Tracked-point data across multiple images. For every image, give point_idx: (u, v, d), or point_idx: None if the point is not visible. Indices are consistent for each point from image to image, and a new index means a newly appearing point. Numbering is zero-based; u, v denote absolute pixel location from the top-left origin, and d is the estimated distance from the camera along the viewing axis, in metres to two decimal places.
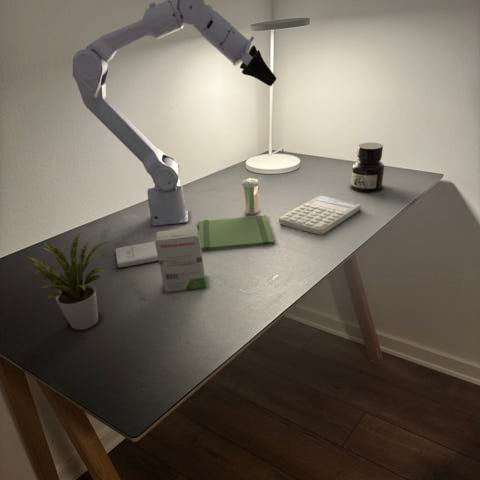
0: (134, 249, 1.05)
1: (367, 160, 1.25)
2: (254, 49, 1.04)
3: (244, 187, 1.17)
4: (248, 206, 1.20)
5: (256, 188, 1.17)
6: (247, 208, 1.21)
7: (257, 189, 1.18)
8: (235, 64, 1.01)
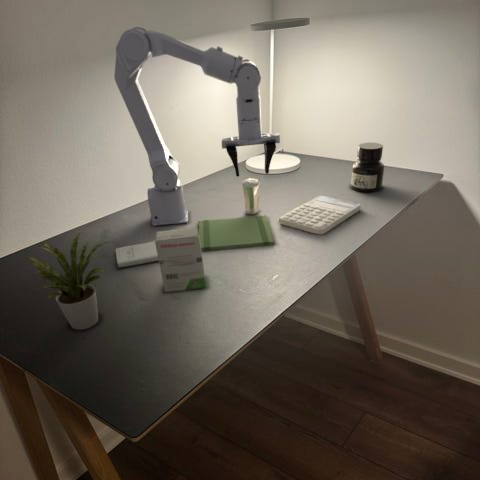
0: (134, 249, 1.05)
1: (367, 160, 1.25)
2: (266, 148, 1.11)
3: (244, 187, 1.17)
4: (248, 206, 1.20)
5: (256, 188, 1.17)
6: (247, 208, 1.21)
7: (257, 189, 1.18)
8: None
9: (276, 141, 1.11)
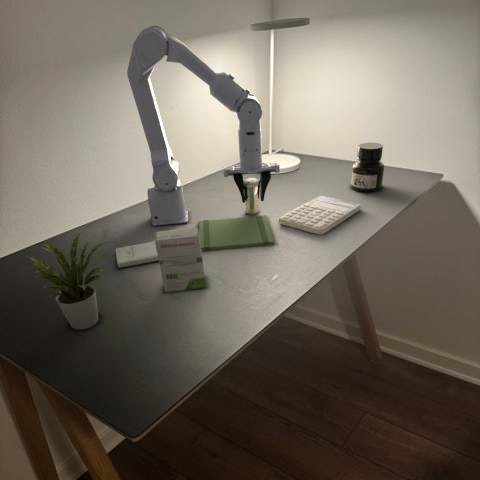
0: (134, 249, 1.05)
1: (367, 160, 1.25)
2: (261, 178, 1.15)
3: (245, 187, 1.17)
4: (248, 206, 1.20)
5: (257, 188, 1.17)
6: (247, 208, 1.21)
7: (258, 189, 1.18)
8: None
9: (276, 170, 1.16)
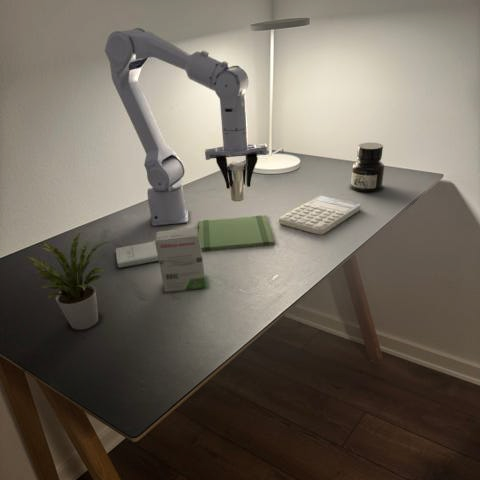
0: (134, 249, 1.05)
1: (367, 160, 1.25)
2: (247, 161, 1.04)
3: (229, 171, 1.07)
4: (233, 192, 1.10)
5: (242, 172, 1.07)
6: (232, 194, 1.10)
7: (243, 173, 1.07)
8: None
9: (263, 153, 1.05)
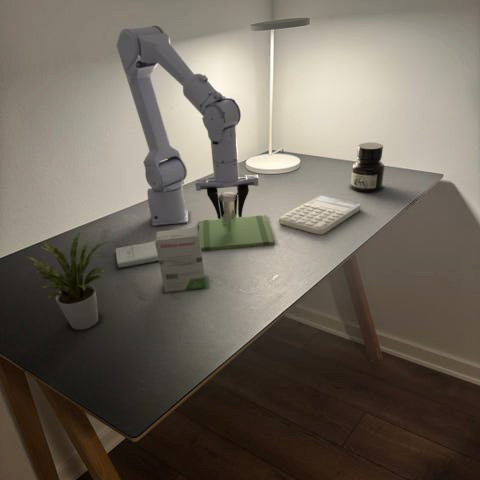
0: (134, 249, 1.05)
1: (367, 160, 1.25)
2: (238, 192, 1.03)
3: (220, 201, 1.05)
4: (225, 222, 1.08)
5: (233, 203, 1.05)
6: (224, 224, 1.09)
7: (235, 204, 1.06)
8: None
9: (254, 184, 1.03)
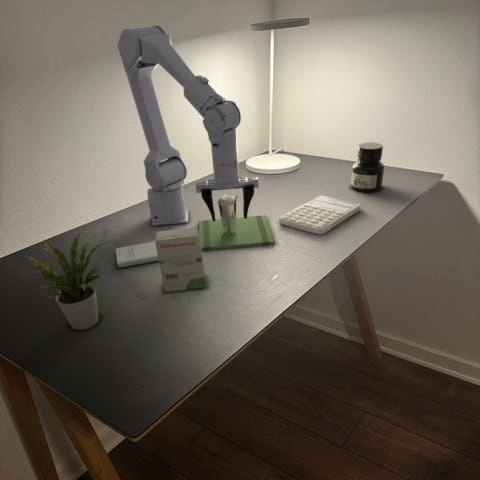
0: (134, 249, 1.05)
1: (367, 160, 1.25)
2: (244, 194, 1.03)
3: (220, 205, 1.06)
4: (225, 226, 1.09)
5: (233, 207, 1.06)
6: (224, 228, 1.09)
7: (234, 208, 1.06)
8: None
9: (255, 186, 1.04)
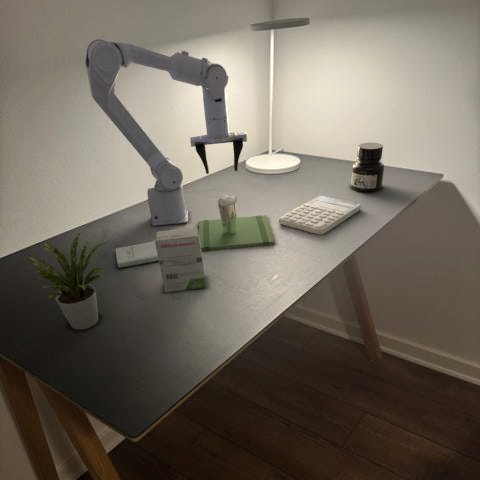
0: (134, 249, 1.05)
1: (367, 160, 1.25)
2: (233, 147, 1.15)
3: (220, 205, 1.06)
4: (225, 226, 1.09)
5: (233, 207, 1.06)
6: (224, 228, 1.09)
7: (234, 208, 1.06)
8: None
9: (243, 140, 1.15)
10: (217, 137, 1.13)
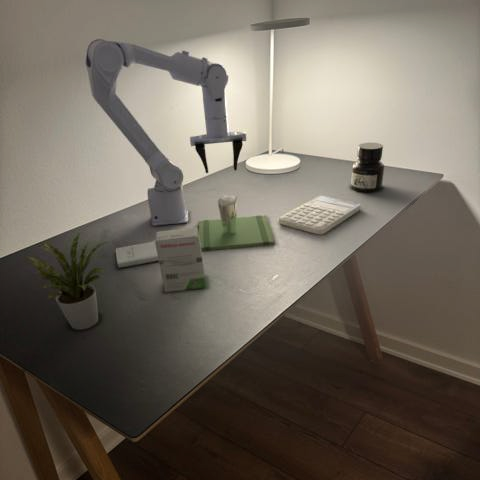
0: (134, 249, 1.05)
1: (367, 160, 1.25)
2: (233, 146, 1.15)
3: (220, 205, 1.06)
4: (225, 226, 1.09)
5: (233, 207, 1.06)
6: (224, 228, 1.09)
7: (234, 208, 1.06)
8: None
9: (243, 139, 1.16)
10: (217, 136, 1.13)
